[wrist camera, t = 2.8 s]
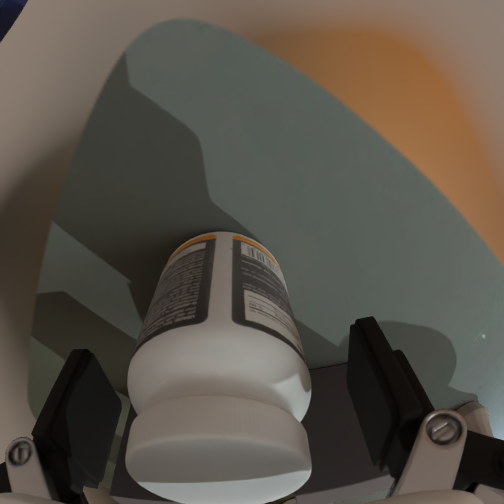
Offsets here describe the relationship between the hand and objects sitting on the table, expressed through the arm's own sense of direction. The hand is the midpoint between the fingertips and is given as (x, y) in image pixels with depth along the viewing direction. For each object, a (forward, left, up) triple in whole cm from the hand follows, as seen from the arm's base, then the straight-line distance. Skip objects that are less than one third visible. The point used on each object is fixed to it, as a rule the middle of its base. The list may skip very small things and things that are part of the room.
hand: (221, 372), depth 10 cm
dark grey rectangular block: (+4, -8, -6) cm, 11 cm away
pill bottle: (0, 0, -6) cm, 6 cm away
